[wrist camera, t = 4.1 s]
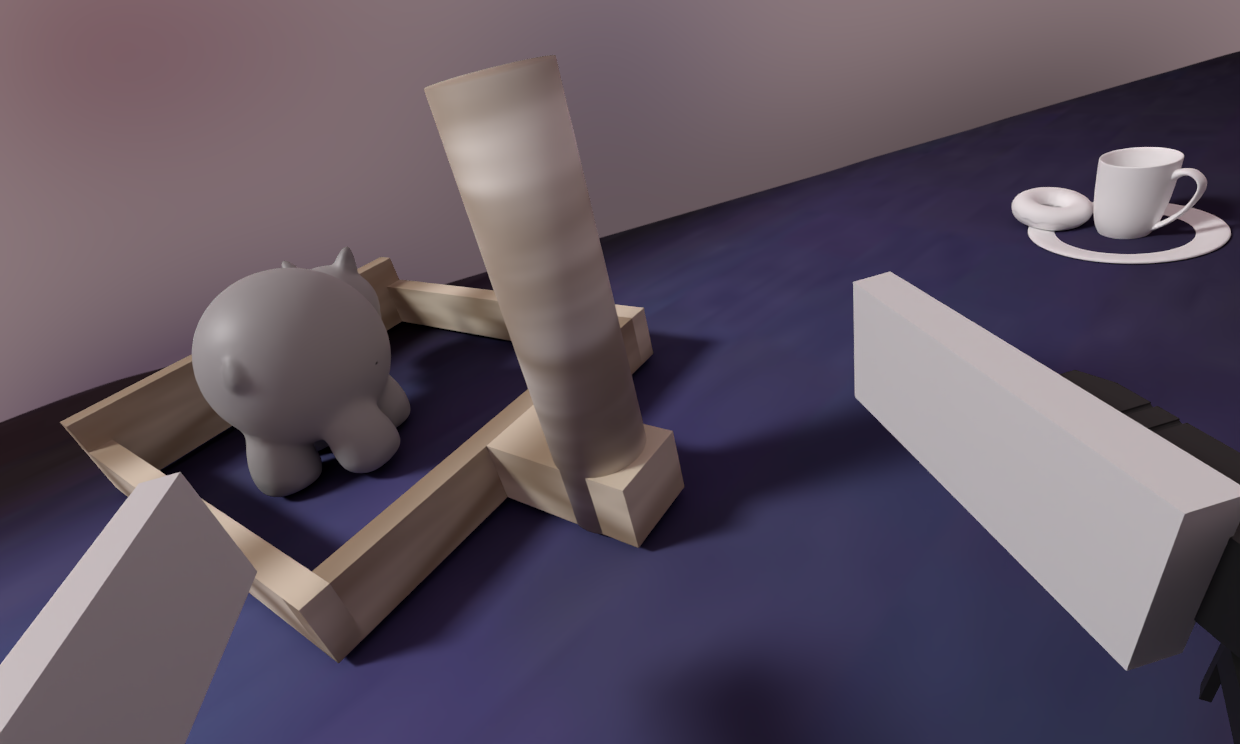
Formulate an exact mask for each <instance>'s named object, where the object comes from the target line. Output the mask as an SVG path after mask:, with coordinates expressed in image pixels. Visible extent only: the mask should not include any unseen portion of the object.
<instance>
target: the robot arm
mask: <svg viewBox="0 0 1240 744" xmlns="http://www.w3.org/2000/svg"><path fill="white" fill-rule="evenodd" d="M853 297H854V368H855V397H856V398H857V399H858V400H859V401H860V402H861V403H862V404H863V405H864V406H865V408H866V409H867V410H868V411H869V412H870V413H871V414H872V415H873V416H874V417H875V418H876V419H877V420H878V421H879V422H880V423H881V424H882V425H883V426H884V427H885V428H886V429H887V430H888V431H889V432H890V433H891V434H892V435H893V436H894V437H895V438H896V439H897V440H898V441H899V442H900V443H901V444H902V445H903V446H904V447H905V448H906V449H907V450H908V451H909V452H910V453H911V454H912V455H913V456H914V457H915V458H916V459H917V460H918V461H919V462H920V463H921V464H922V465H923V466H924V467H925V468H926V469H927V470H928V471H929V472H930V473H931V474H932V475H933V476H934V477H935V478H936V479H937V480H938V481H939V482H940V483H941V484H942V485H943V486H944V487H945V488H946V489H947V490H948V491H949V492H950V493H951V494H952V495H953V496H954V497H955V498H956V499H957V500H958V501H959V502H960V503H961V504H962V505H963V506H964V507H965V508H966V509H967V510H968V511H969V512H970V513H971V514H972V515H973V516H974V517H975V519H976V520H977V521H978V522H979V523H980V524H981V525H982V526H983V527H984V528H985V529H986V530H987V531H988V532H989V533H990V534H991V535H992V536H993V537H994V538H995V539H996V540H997V541H998V542H999V543H1000V544H1001V545H1002V546H1003V547H1004V548H1005V549H1006V550H1007V551H1008V552H1009V553H1010V554H1011V555H1012V556H1013V557H1014V558H1015V559H1016V560H1017V561H1018V562H1019V563H1020V564H1021V565H1022V566H1023V567H1024V568H1025V569H1026V570H1027V571H1028V572H1029V573H1030V574H1031V575H1032V576H1033V577H1034V578H1035V579H1036V580H1037V581H1038V582H1039V583H1040V584H1041V585H1042V586H1043V587H1044V588H1045V589H1046V590H1047V591H1048V592H1049V593H1050V594H1051V595H1052V596H1053V597H1054V598H1055V599H1056V600H1057V601H1058V602H1059V603H1060V604H1061V605H1062V606H1063V607H1064V608H1065V609H1066V610H1067V611H1068V612H1069V613H1070V614H1071V615H1072V616H1073V617H1074V618H1075V619H1076V620H1077V621H1078V622H1079V623H1080V624H1081V625H1082V626H1083V627H1084V628H1085V630H1086V631H1087V632H1088V633H1089V634H1090V635H1091V636H1092V637H1093V638H1094V639H1095V640H1096V641H1097V642H1098V643H1099V644H1100V645H1101V646H1102V647H1103V648H1104V649H1105V650H1106V651H1107V652H1108V653H1109V654H1110V655H1111V656H1112V657H1113V658H1114V659H1115V660H1116V661H1117V662H1118V663H1119V664H1120V665H1121V666H1122V667H1123V668H1124V669H1125V670H1126V671H1127V670H1131V669H1134V668H1137V667H1140V666H1143V665H1146V664H1149V663H1152V662H1155V661H1158V660H1161V659H1164V658H1167V657H1170V656H1173V655H1177V654H1180V653H1182V652H1183V650H1184V647H1185V645H1186V643H1187V641H1188V638H1189V636H1190V634H1191V632H1192V629H1193V627H1194V625H1195V622H1197V623H1198V624H1199V625H1201V626H1202V627H1203V628H1204V629H1205V630H1207V631H1208V632H1209V633H1210V634H1211V635H1213V636H1214V637H1215V638H1216V639H1217V640H1219V641H1220V642H1221V644H1220V646H1219V648H1218V650H1217V652H1216V654H1215V656H1214V658H1213V660H1212V662H1211V664H1210V666H1209V668H1208V670H1207V672H1206V674H1205V677H1204V679H1203V681H1202V683H1201V688H1200V696H1199V699H1201V700H1205V701H1208V702H1212V700H1213V698H1214V696H1215V694H1216V692H1217V690H1218V688H1219V686H1220V684H1221V685H1222V690H1223V694H1224V699H1225V704H1226V708H1227V713H1228V717H1229V722H1230V727H1231V731H1232V736H1233V740H1234V744H1240V453H1239V452H1237V451H1236V450H1234V449H1232V448H1230V447H1229V446H1227V445H1225V444H1223V443H1222V442H1220V441H1218V440H1216V439H1214V438H1213V437H1211V436H1209V435H1207V434H1206V433H1204V432H1202V431H1200V430H1199V429H1197V428H1195V427H1193V426H1192V425H1190V424H1188V423H1185V424H1182V423H1181V422H1180V421H1179V418H1177V417H1176V416H1174V415H1172V414H1170V413H1169V412H1167V411H1165V410H1163V409H1162V408H1160V407H1158V406H1156V407H1152V406H1151V402H1149V401H1147V400H1146V399H1144V398H1142V397H1140V396H1139V395H1137V394H1135V393H1133V392H1132V391H1130V390H1128V389H1126V388H1125V387H1123V386H1121V385H1119V384H1118V383H1115V382H1112V381H1109V380H1106V379H1102V378H1099V377H1096V376H1093V375H1090V374H1086V373H1083V372H1080V371H1077V370H1073V371H1070V372H1066V373H1063V374H1057V373H1056V372H1054V371H1052V370H1051V369H1049V368H1048V367H1046V366H1044V365H1043V364H1041V363H1039V362H1038V361H1036V360H1034V359H1033V358H1031V357H1029V356H1028V355H1026V354H1025V353H1023V352H1021V351H1020V350H1018V349H1016V348H1015V347H1013V346H1011V345H1010V344H1008V343H1006V342H1005V341H1003V340H1002V339H1000V338H998V337H997V336H995V335H993V334H992V333H990V332H988V331H987V330H985V329H984V328H982V327H980V326H979V325H977V324H975V323H974V322H972V321H970V320H969V319H967V318H965V317H964V316H962V315H961V314H959V313H957V312H956V311H954V310H952V309H951V308H949V307H947V306H946V305H944V304H943V303H941V302H939V301H938V300H936V299H934V298H933V297H931V296H929V295H928V294H926V293H924V292H923V291H921V290H920V289H918V288H916V287H915V286H913V285H911V284H910V283H908V282H906V281H905V280H903V279H901V278H900V277H898V276H897V275H895V274H893V273H892V272H887V273H883V274H880V275H876V276H873V277H869V278H866V279H862V280H859V281H855V282H853ZM256 574H257V570H256V569H255V568H254V567H253V565H252V564H251V563H250V561H249V560H248V559H247V557H246V556H245V555H244V554H243V552H242V551H241V550H240V548H239V547H238V546H237V544H236V543H235V542H234V541H233V539H232V538H231V537H230V535H229V534H228V533H227V531H226V530H225V529H224V528H223V526H222V525H221V524H220V522H219V521H218V520H217V518H216V517H215V516H214V515H213V513H212V512H211V511H210V509H209V508H208V507H207V506H206V504H205V503H204V502H203V500H202V499H201V498H200V496H199V495H198V494H197V493H196V491H195V490H194V489H193V487H192V486H191V485H190V483H189V482H188V481H187V480H186V478H185V477H184V476H183V474H182V473H181V472H178V473H174V474H171V475H167V476H164V477H160V478H157V479H153V480H149V481H146V482H142V483H139V484H138V485H137V486H136V488H135V489H134V490H133V492H132V493H131V494H130V496H129V497H128V498H127V499H126V501H125V502H124V503H123V505H122V506H121V507H120V509H119V510H118V511H117V513H116V514H115V515H114V517H113V518H112V519H111V520H110V522H109V523H108V524H107V526H106V527H105V528H104V530H103V531H102V532H101V534H100V535H99V536H98V537H97V539H96V540H95V541H94V543H93V544H92V545H91V547H90V548H89V549H88V551H87V552H86V553H85V554H84V556H83V557H82V558H81V560H80V561H79V562H78V564H77V565H76V566H75V568H74V569H73V570H72V572H71V573H70V574H69V575H68V577H67V578H66V579H65V581H64V582H63V583H62V585H61V586H60V587H59V589H58V590H57V591H56V592H55V594H54V595H53V596H52V598H51V599H50V600H49V602H48V603H47V604H46V606H45V607H44V608H43V609H42V611H41V612H40V613H39V615H38V616H37V617H36V619H35V620H34V621H33V623H32V624H31V625H30V627H29V628H28V629H27V630H26V632H25V633H24V634H23V636H22V637H21V638H20V640H19V641H18V642H17V644H16V645H15V646H14V647H13V649H12V650H11V651H10V653H9V654H8V655H7V657H6V658H5V659H4V661H3V662H2V663H1V664H0V744H185V742H186V740H187V737H188V735H189V733H190V730H191V728H192V725H193V723H194V721H195V718H196V716H197V714H198V711H199V709H200V707H201V704H202V702H203V699H204V697H205V695H206V692H207V690H208V688H209V685H210V683H211V680H212V678H213V676H214V673H215V671H216V669H217V666H218V664H219V662H220V659H221V657H222V654H223V652H224V650H225V647H226V645H227V643H228V640H229V638H230V635H231V633H232V631H233V628H234V626H235V624H236V621H237V619H238V617H239V614H240V612H241V609H242V607H243V605H244V602H245V600H246V598H247V595H248V593H249V590H250V588H251V586H252V583H253V581H254V579H255V576H256Z"/></svg>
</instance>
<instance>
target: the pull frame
mask: <svg viewBox="0 0 1240 744" xmlns="http://www.w3.org/2000/svg"><path fill="white" fill-rule="evenodd" d="M424 91H425V94H426V96H427V99H428V102H429V105H430V108H431V111H432V114H433V116H434V120H435V122H436V125H437V128H438V131H439V134H440V137H441V140H442V142H443V145H444V148H445V151H446V154H447V157H448V160H449V162H450V165H451V168H452V171H453V174H454V177H455V180H456V183H457V186H458V188H459V191H460V194H461V197H462V200H463V203H464V205H465V209H466V212H467V214H468V217H469V220H470V223H471V225H472V229H473V232H474V234H475V237H476V240H477V243H478V246H479V249H480V251H481V254H482V257H483V260H484V263H485V266H486V269H487V272H488V275H489V278H490V281H491V283H492V286H493V289H494V291H493V290H484V289H476V288H467V287H459V286H450V285H441V284H432V283H423V282H415V281H407V280H399V278H398V276H397V273H396V271H395V269H394V267H393V264H392V262H391V260H390V258H384V257H380V258H378V259H376V260H374V261H372V262H370V263H369V264H366V265H364V266H363V267H361V268H359V269H357V271H358V273H359V274H360V275H361V276H362V277H363V278H364V279H365V280H367V281H368V282H369V284H370V285H371V286H372V287H373V289H374V290H375V292H376V294H377V297H378V300H379V304H380V313H381V319H382V321H383V324H384V326H385V328H386V331H387V330H389V329H390V328H392V327H393V326H395V325H397V324H398V323H400V322H402V321H404V322H410V323H415V324H421V325H426V326H432V327H438V328H443V329H449V330H454V331H460V332H465V333H471V334H476V335H482V336H488V337H493V338H499V339H504V340H510V341H512V344H513V347H514V350H515V352H516V355H517V358H518V361H519V364H520V367H521V370H522V373H523V375H524V378H525V381H526V384H527V387H528V389H527V390H526V391H525V392H524V393H523V394H521V395H520V396H519V397H518V398H517V399H515V400H514V401H513V402H512V403H511V404H510V405H508V406H507V407H506V408H505V409H504V410H502V411H501V412H500V413H499V414H498V415H497V416H495V417H494V418H493V419H492V420H491V421H489V422H488V423H487V424H486V425H485V426H483V427H482V428H481V429H480V430H479V431H478V432H476V433H475V434H474V435H473V436H472V437H470V438H469V439H468V440H467V441H466V442H465V443H463V444H462V445H461V446H460V447H459V448H457V449H456V450H455V451H454V452H453V453H452V454H450V455H449V456H448V457H447V458H446V459H444V460H443V461H442V462H441V463H440V464H439V465H437V466H436V467H435V468H434V469H433V470H431V471H430V472H429V473H428V474H427V475H425V476H424V477H423V478H422V479H421V480H420V481H418V482H417V483H416V484H415V485H414V486H412V487H411V488H410V489H409V490H408V491H407V492H405V493H404V494H403V495H402V496H401V497H399V498H398V499H397V500H396V501H395V502H394V503H392V504H391V505H390V506H389V507H388V508H386V509H385V510H384V511H383V512H382V513H381V514H379V515H378V516H377V517H376V518H375V519H373V520H372V521H371V522H370V523H369V524H367V525H366V526H365V527H364V528H363V529H362V530H360V531H359V532H358V533H357V534H356V535H354V536H353V537H352V538H351V539H350V540H349V541H347V542H346V543H345V544H344V545H343V546H341V547H340V548H339V549H338V550H337V551H336V552H334V553H333V554H332V555H331V556H330V557H328V558H327V559H326V560H325V561H324V562H323V563H321V564H320V565H319V566H318V567H317V568H315V569H314V570H313V571H312V572H311V571H310V570H308V569H307V568H305V567H304V566H302V565H301V564H299V563H298V562H296V561H295V560H293V559H292V558H290V557H289V556H287V555H286V554H284V553H283V552H281V551H280V550H278V549H277V548H275V547H274V546H272V545H271V544H269V543H268V542H266V541H265V540H263V539H262V538H260V537H259V536H257V535H256V534H254V533H253V532H251V531H250V530H248V529H247V528H245V527H244V526H242V525H241V524H239V523H238V522H236V521H235V520H233V519H232V518H230V517H229V516H227V515H226V514H224V513H223V512H221V511H220V510H218V509H216V508H215V507H213V506H212V505H210V504H209V503H207V502H206V501H204V500H203V499H202V500H203V502H204V503H205V504H206V506H207V507H208V508H209V509H210V511H211V512H212V513H213V515H214V516H215V517H216V518H217V520H218V521H219V522H220V524H221V525H222V526H223V528H224V529H225V530H226V531H227V533H228V534H229V535H230V537H231V538H232V539H233V541H234V542H235V543H236V544H237V546H238V547H239V548H240V550H241V551H242V552H243V554H244V555H245V556H246V557H247V559H248V560H249V561H250V563H251V564H252V565H253V567H254V568H255V569H256V570H257V574H256V576H255V579H254V581H253V583H252V586H251V588H250V590H249V593H250V594H252V595H253V596H254V597H255V598H257V599H258V600H259V601H260V602H262V603H263V604H264V605H265V606H267V607H268V608H269V609H271V610H272V611H273V612H274V613H276V614H277V615H278V616H279V617H281V618H282V619H283V620H284V621H286V622H287V623H288V624H289V625H291V626H292V627H293V628H295V629H296V630H297V631H298V632H300V633H301V634H302V635H303V636H305V637H306V638H307V639H308V640H310V641H311V642H312V643H314V644H315V645H316V646H317V647H319V648H320V649H321V650H322V651H324V652H325V653H326V654H327V655H329V656H330V657H331V658H332V659H334V660H335V661H336V662H338V663H340V662H341V661H342V660H343V659H344V658H345V657H346V656H347V655H348V654H349V653H350V652H351V651H352V650H353V649H354V648H355V647H356V646H357V645H358V644H359V643H360V642H361V641H362V640H363V639H364V638H365V637H366V636H367V635H368V634H369V633H370V632H371V631H372V630H373V629H374V628H375V627H376V626H377V625H378V624H379V623H380V622H381V621H382V620H383V619H384V618H385V617H386V616H387V615H388V614H389V613H390V612H391V611H392V610H393V609H394V608H395V607H396V606H397V605H398V604H399V603H400V602H401V601H402V600H403V599H405V598H406V597H407V596H408V595H409V594H410V593H411V592H412V591H413V590H414V589H415V588H416V587H417V586H418V585H419V584H420V583H421V582H422V581H423V580H424V579H425V578H426V577H427V576H428V575H429V574H430V573H431V572H432V571H433V570H434V569H435V568H436V567H437V566H438V565H439V564H440V563H441V562H442V561H443V560H444V559H445V558H446V557H447V556H448V555H449V554H450V553H451V552H452V551H453V550H454V549H455V548H456V547H457V546H458V545H459V544H460V543H461V542H462V541H463V540H464V539H465V538H466V537H467V536H468V535H469V534H471V533H472V532H473V531H474V530H475V529H476V528H477V527H478V526H479V525H480V524H481V523H482V522H483V521H484V520H485V519H486V518H487V517H488V516H489V515H490V514H491V513H492V512H493V511H494V510H495V509H496V508H497V507H498V506H499V505H500V504H501V503H502V502H503V501H504V500H505V499H506V498H507V497H509V498H512V499H514V500H517V501H519V502H522V503H525V504H527V505H530V506H532V507H535V508H537V509H540V510H543V511H545V512H548V513H550V514H553V515H555V516H558V517H561V518H563V519H566V520H568V521H571V522H573V523H576V524H578V525H579V526H580V527H582V528H583V529H585V530H587V531H590V532H593V533H598V534H604V535H607V536H609V537H612V538H614V539H617V540H620V541H622V542H625V543H627V544H630V545H632V546H635V547H638V548H639V547H640V545H641V544H642V543H643V541H644V540H645V539H646V537H647V536H648V535H649V533H650V532H651V531H652V529H653V528H654V527H655V525H656V524H657V523H658V521H659V520H660V519H661V517H662V516H663V515H664V513H665V512H666V511H667V509H668V508H669V507H670V505H671V504H672V503H673V501H674V500H675V499H676V497H677V496H678V495H679V493H680V492H681V491H682V489H683V488H684V482H683V478H682V473H681V468H680V463H679V458H678V453H677V449H676V444H675V439H674V434H673V431H670V430H666V429H662V428H658V427H654V426H650V425H646V424H643V421H642V417H641V412H640V408H639V404H638V400H637V396H636V391H635V387H634V383H633V379H632V374H633V373H634V372H635V371H636V370H637V369H638V368H639V367H640V366H641V365H642V364H643V363H644V362H645V361H646V360H647V359H648V358H649V357H650V356H651V355H652V354H653V350H652V345H651V340H650V336H649V331H648V326H647V321H646V317H645V312H644V308H640V307H631V306H623V305H615V303H614V299H613V295H612V291H611V286H610V282H609V278H608V274H607V270H606V265H605V261H604V257H603V253H602V249H601V244H600V240H599V236H598V232H597V228H596V224H595V219H594V215H593V211H592V207H591V203H590V198H589V194H588V190H587V186H586V181H585V177H584V173H583V169H582V165H581V161H580V157H579V152H578V148H577V144H576V140H575V135H574V132H573V127H572V122H571V119H570V114H569V110H568V106H567V101H566V97H565V93H564V89H563V85H562V81H561V76H560V72H559V68H558V64H557V59H556V56H555V55H550V56H542V57H537V58H531V59H527V60H522V61H517V62H513V63H508V64H504V65H500V66H496V67H492V68H488V69H484V70H480V71H476V72H473V73H469V74H466V75H462V76H458V77H455V78H452V79H448V80H445V81H442V82H439V83H436V84H433V85H431V86H428V87H426V88H425V89H424ZM60 423H61V424H62V425H63V426H64V427H65V429H66V430H67V431H68V432H69V433H70V434H71V436H72V437H73V438H74V439H75V440H76V441H77V443H78V444H79V445H80V446H81V447H82V448H83V450H84V451H85V452H86V453H87V454H88V455H89V457H90V458H91V459H92V460H93V461H94V462H95V464H96V465H97V466H98V467H99V468H100V469H101V471H102V472H103V473H104V474H105V475H106V476H107V478H108V479H109V480H110V481H111V482H112V483H113V484H114V486H115V487H116V488H117V489H119V490H120V491H121V492H123V493H124V494H125V495H126V496H128V497H129V496H130V494H131V493H132V492H133V490H134V489H135V488H136V486H137V485H138V484H139V483H142V482H146V481H149V480H153V479H157V478H160V477H164V476H167V475H165V474H164V473H162V472H161V471H159V470H161V469H162V468H164V467H165V466H167V465H169V464H170V463H172V462H174V461H175V460H177V459H179V458H180V457H182V456H183V455H185V454H187V453H188V452H190V451H192V450H193V449H195V448H196V447H198V446H200V445H201V444H203V443H205V442H206V441H208V440H209V439H211V438H213V437H214V436H216V435H218V434H219V433H221V432H222V431H224V430H226V429H227V428H229V427H231V426H232V425H231V424H229V423H228V422H226V421H225V420H224V419H223V418H222V417H220V416H219V415H218V414H217V413H216V412H215V411H214V410H213V409H212V407H211V406H210V405H209V403H208V402H207V400H206V399H205V398H204V396H203V394H202V392H201V390H200V388H199V386H198V383H197V381H196V378H195V374H194V370H193V364H192V355H190V356H188V357H186V358H184V359H182V360H180V361H178V362H176V363H174V364H172V365H170V366H168V367H166V368H164V369H162V370H160V371H159V372H157V373H155V374H153V375H151V376H149V377H147V378H145V379H143V380H141V381H139V382H137V383H135V384H133V385H131V386H129V387H127V388H126V389H124V390H122V391H120V392H118V393H116V394H114V395H112V396H110V397H108V398H106V399H104V400H102V401H100V402H98V403H96V404H94V405H92V406H91V407H89V408H87V409H85V410H83V411H81V412H79V413H77V414H75V415H73V416H71V417H69V418H67V419H65V420H63V421H61V422H60Z"/></svg>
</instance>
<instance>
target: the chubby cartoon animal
mask: <svg viewBox="0 0 1240 744" xmlns="http://www.w3.org/2000/svg"><path fill="white" fill-rule="evenodd" d="M192 364H193V370H194V374H195V378H196V381H197V383H198V386H199V388H200V390H201V392H202V394H203V396H204V398H205V399H206V400H207V402H208V403H209V405H210V406H211V407H212V409H213V410H214V411H215V412H216V413H217V414H218V415H219V416H220V417H222V418H223V419H224V420H225V421H226V422H228V423H229V424H231V425H232V426H234V427H235V428H237V429H238V430H240V431H241V432H242V433H243V435H244V436H245V439H246V454H247V461H248V467H249V470H250V474H251V476H252V479H253V481H254V483H255V484H256V486H257V487H258V488H259V490H260V491H262V492H263V493H264V494H266V495H268V496H272V497H283V496H287V495H290V494H293V493H296V492H298V491H300V490H302V489H304V488H306V487H307V486H309V485H310V484H312V483H313V482H314V481H316V480H317V479H318V477H319V476H320V474H321V472H322V461H321V458H320V455H319V453H318V451H319V450H322V449H324V448H326V447H328V446H329V447H330V448H331V450H332V452H333V454H334V456H335V457H336V459H337V460H338V462H339V463H340V464H341V465H342V466H343V467H344V468H345V469H346V470H348V471H350V472H354V473H367V472H371V471H374V470H376V469H378V468H379V467H381V466H382V465H384V464H385V463H386V462H387V461H388V460H389V459H391V457H392V456H393V455H394V454H395V453H396V451H397V450H398V448H399V445H400V436H399V433H398V431H397V429H396V427H398V426H399V425H401V424H402V423H403V422H404V421H405V420H406V419H407V418H408V416H409V414H410V403H409V400H408V398H407V396H406V394H405V392H404V391H403V389H402V388H401V387H400V385H399V384H398V383H397V382H396V381H395V380H394V379H393V378H392V377H391V376H390V375H389V371H390V364H391V350H390V342H389V338H388V334H387V331H386V328H385V326H384V324H383V321H382V319H381V313H380V304H379V300H378V297H377V294H376V292H375V290H374V289H373V287H372V286H371V285H370V284H369V282H368V281H367V280H365V279H364V278H363V277H362V276H361V275H360V274H359V273H358V271H357V267H356V263H355V259H354V256H353V254H352V252H351V250H350V248H349V247H345V248H343V249H342V250H341V252H340V253H339V255H338V257H337V259H336V260H335V262H334V263H333V264H332V265H330V266H321V267H316V268H313V269H311V270H310V269H303V268H297V267H296V266H295V265H293V264H291V263H290V262H287V261H283V262H282V268H277V269H271V270H265V271H262V272H258V273H255V274H252V275H250V276H247V277H245V278H243V279H241V280H239V281H237V282H235V283H234V284H232V285H230V286H229V287H228V288H226V289H225V290H224V291H223V292H222V293H220V294H219V295H218V296H217V297H216V298H215V299H214V300H213V301H212V302H211V304H210V305H209V306H208V307H207V309H206V310H205V312H204V314H203V315H202V317H201V319H200V321H199V323H198V326H197V329H196V331H195V335H194V340H193V345H192Z"/></svg>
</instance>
